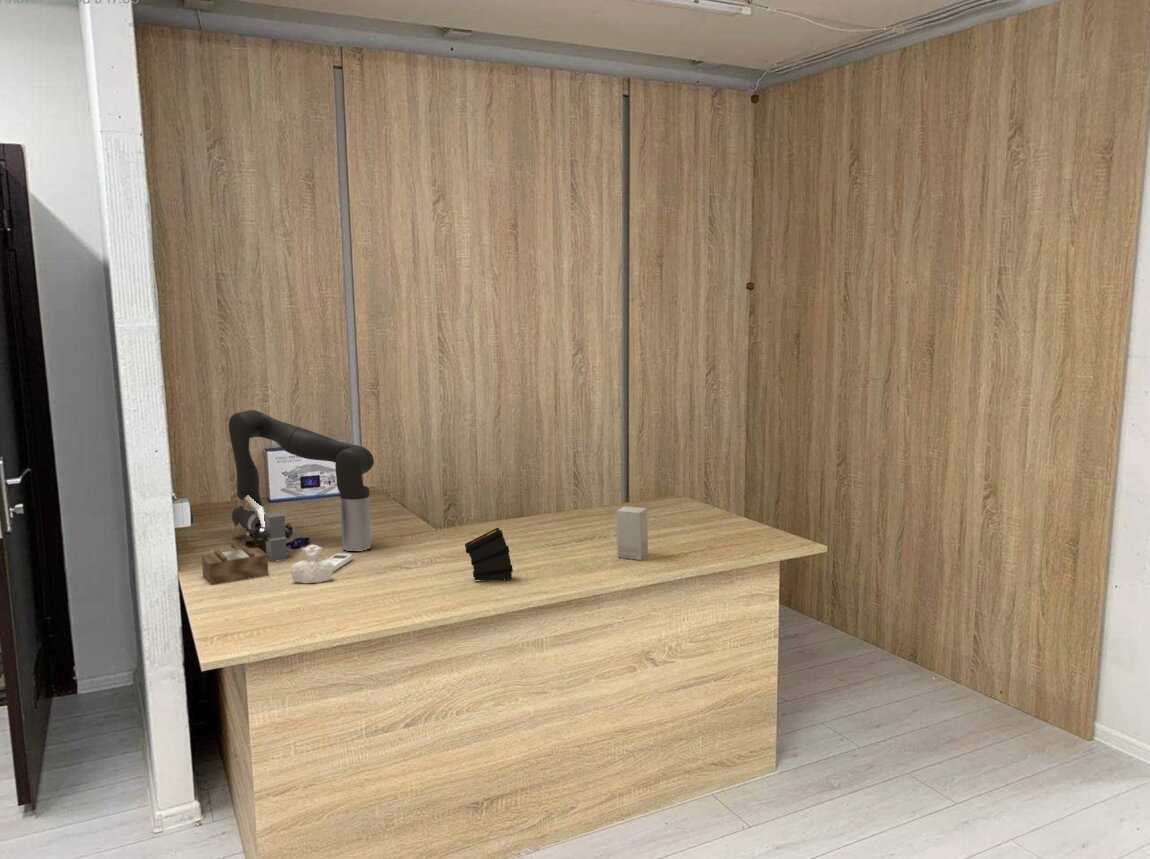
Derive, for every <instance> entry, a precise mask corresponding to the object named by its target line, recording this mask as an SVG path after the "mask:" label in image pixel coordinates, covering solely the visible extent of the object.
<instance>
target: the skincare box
mask: <svg viewBox="0 0 1150 859" xmlns="http://www.w3.org/2000/svg"><path fill="white" fill-rule="evenodd" d="M648 532H649V531H648V508H647V507H638V506H637V507H636V506H625V505H624V506H622V507H621V508H619V509H618V510H616V537H617V538H616V539H617V540H616V541H617V542H616V543H617V544H616V545H617V558H618V557H622V558H629V559H628V560H631V559H636V560H635V561H640V560H641V561H643V560H644V559H646V558H647V557H648V556H649V546H648V545H649V544H648V543H649V539H648ZM647 555H648V556H647ZM646 556H647V557H646ZM622 558H621V559H622ZM642 559H643V560H642Z"/></svg>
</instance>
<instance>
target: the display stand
mask: <svg viewBox="0 0 1150 859" xmlns="http://www.w3.org/2000/svg"><path fill="white" fill-rule="evenodd" d="M268 562H269V559H268V558H267V554H266V552H265V551H264V550H262V549H260V548H259V547H250V548H249V547H248V546H246V545H241V549H236V550H228V551H222V552H221V550H219V549H217V550H213V553H210V554H207V555H206V554H205V555H201V567H202V577H203V578H205V579H207V580H208V581H207V582H208V583H209V584H210V585H215V584H221V582H223V583H227V582H226V581H229V582H232V581H231V580H235V581H238V580H237V579H240V580H244V579H243V578H246V579H249V578H248V577H252V578H256V577H255V576H258V577H262V576H261V575H264V576H268V575H269V563H268Z"/></svg>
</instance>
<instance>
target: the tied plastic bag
mask: <svg viewBox="0 0 1150 859" xmlns="http://www.w3.org/2000/svg"><path fill="white" fill-rule="evenodd" d="M301 550H302V552H303V553H305V556H307V557H306V559H305V560H299V561H298V562H296V563H294V564H292V566H290V574H291V578H292V580H293V581H294V582H295V583H302V584H304V583H307V584H313V583H315V584H319V583H318V582H320V583H323V582H328V581H330V580H331V579H332V576H333V573H334V567H335V565H334V564H333V563H332V562H331V561H327V560H326V559H319V557H318V556H320V555H321V552H322V551H323V547H321V546H318V545H317V544H310V545H308V546H306V547H304V548H301Z"/></svg>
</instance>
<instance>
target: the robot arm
mask: <svg viewBox="0 0 1150 859" xmlns="http://www.w3.org/2000/svg"><path fill="white" fill-rule="evenodd" d="M228 420H229V421H228V431H229V438H230V442H231V448H232V454H233V459H234V463H235V471H236V491H237V492H236V493H237V498H238V499H239V500H241V501H245V500H244V497H246V496H247V495H249V496H250V497H251V498H252V499H254V501H256V503H258V504H259V505H261V506H262V507H263V509H264V512H265V513H266V511H265V508H264V506H263V503H262V498H261V494H260V477H259V476H260V475H259V471H258V468H257V466H256V464H255V462H254V461H253V458H252V455H251V452H250V439H253V438H261V439H262V438H264V439H267V440H271V441H273V442H275V443H276V444H277V445H279V447H280V448H281V449H282V450H283V451H285V452H287V453H288V454H290V455H292V456H296V457H299V458H302V459H306V460H312V461H323V462H332V463H335V465H334V466H335V476H336V477H335V478H336V487H337V490H338V492H339V501H340V503H339V504H340V505H339V506H340V526H341V527H340V528H341V548H342V549H343V550H346V551H345V552H347V551H357V550H364V549H368V548H371V549H372V546H371V545H373V538H372V518H371V503H370V502H371V501H370V495H371V494H370V488H369V487H368V486H367V485H364V483H363V477H362V475H364V474H366V473H368V472H369V471H370V470H372V468H373V466H374V464H375V460H374V456H373V454H372V453H371V451H370V450H369V449H368V448H366V447H364V446H361V445H357V444H352V443H348V442H342V441H340V440H336V439H334V438H331V437H329V436H326V435H323V434H320V433H317V432H315V431H313V430H310V429H307V428H304V427H300V426H297V425H293V424H290V423H287V422H284V421H281V420H278V419H276V418H274V417H271V416H269V415H267V414H265V413H264V412H262V411H258V410H254V409H250V410H249V409H248V410H245V411H244V410H243V411H240V412H236V413H234V414H231V416H230V418H229V419H228ZM242 506H243V505H241V506H237V507H236V508H234V509H233V511H232V513H231V519H232V522H233V525H234V526H236V527H237V525H238V523H240V524H241V525H242V527H244V528H246V529H245V530H246V531H245V532H246V538H247V539H250V540H252V541H257V540H258V539H259V540H260V541H264V542H265V543H266V542H267V541H268V535H267V534H266V533H265V527H261V524H260V520H259V518H258V517H257V515H256V514H255V512H254V511H247V510H244V509H243V507H242ZM293 534H294V533H293V526H292V524H291V523H290V522H288V523H285V537H286V539H290V538H291V536H292V535H293ZM342 549H341V550H342ZM343 550H342V551H343Z"/></svg>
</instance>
